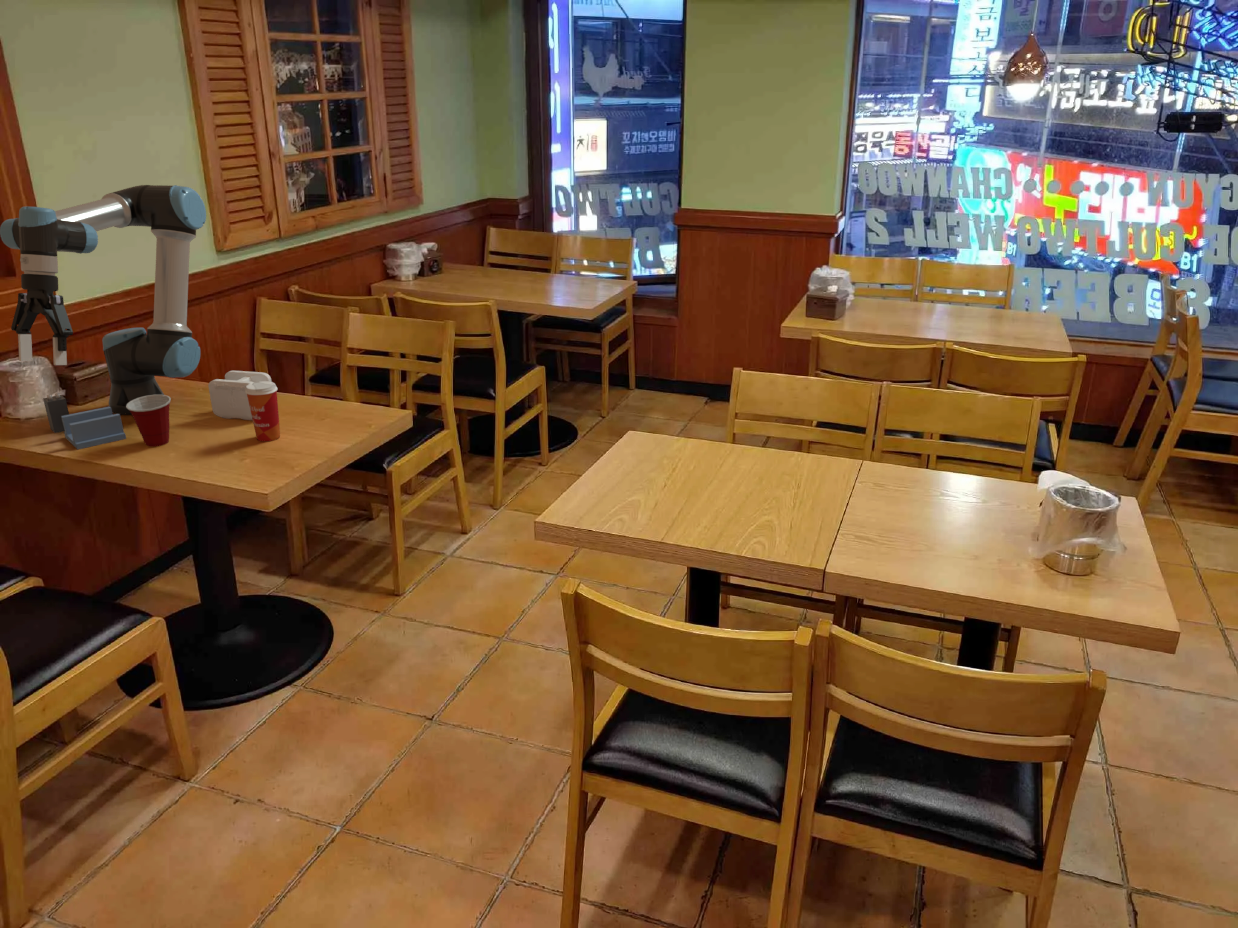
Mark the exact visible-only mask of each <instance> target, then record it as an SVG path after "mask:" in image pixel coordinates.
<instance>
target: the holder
mask: <svg viewBox="0 0 1238 928" xmlns="http://www.w3.org/2000/svg"><path fill="white" fill-rule="evenodd" d="M61 418H62V422H63V426H64V430H65V431H63V433H64V437H65V439H66V441H68V442H70V444H71V445H72V446H73V447H74V448H75V449H76V450H82V449H87V448H90V447H95V446H99V445H105V444H109V443H112V442H119V441H123V440H126V439H127V436H126V435H127V434H126V433H125V431H124V427H123V423H122V422H123V421H122V418H121V414H115V413H112V409H111V407H110V406H109V405H108V406H104V407H100V408H94V409H90V410H86V411H85V410H84V411H79V412H75V413H69V415H64V416H61Z"/></svg>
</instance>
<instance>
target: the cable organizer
mask: <svg viewBox="0 0 1238 928" xmlns="http://www.w3.org/2000/svg"><path fill="white" fill-rule="evenodd" d="M224 374H225V375H224V379H219V378H216V379H213V380H211V381H209V382H208V391H209V397H210V402H211V404H210V405H211V408H212V412H213V414H214V415H215V416H217V417H220V418H222V419H229V420H230V419H231V420H232V419H242V420H244V421H253V420H252V415H251V411H250V406H249V402H248V397H247V394H246V393H245V390H246V386H247V385H249V384H252V383H256V382H257V383H259V382H262V381H269V382H272V378H271V375H269V374H268V373H267V372H261V371H259V372H258V371H247V370H245V371H243V370H229V371H228V372H226V373H224Z"/></svg>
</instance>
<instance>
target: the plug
mask: <svg viewBox="0 0 1238 928" xmlns="http://www.w3.org/2000/svg"><path fill="white" fill-rule="evenodd" d="M42 400H43V404H44V408H45V413H46V416H47V420H48V423H49V424H48V425H49V428H50V430H51V431H52V432H53V433H54V434H58V433H61V432H63V433H64V432H65V430H64V426H63V422H62V418H61V416H64V415H69V414H70V411H69V407H68V403H67V399H66V397H65V396H63V395H62V394H61V393H60V392H55V393H54V396H53V394H46V397H43V398H42Z"/></svg>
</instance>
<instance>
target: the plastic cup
mask: <svg viewBox="0 0 1238 928" xmlns="http://www.w3.org/2000/svg"><path fill="white" fill-rule="evenodd" d="M171 399H172V398H171V397H170V396H169V395H166V394H164V395H148V396H143V397H139V398H136V399H134V400H132V401H130V402H129V403H127V405H126V408H127V409H128V410H129V411H130V412H131V414H130V415H131V416H132V417H133V420H134V421H135V424H136V427H137V429H138V431H139V433H140V435H141V438H142V440H143V442H144V444H145V446H147V447H149V448H150V447H161V446H165V445H167V444H168V443H169V442H170V403H171Z"/></svg>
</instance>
